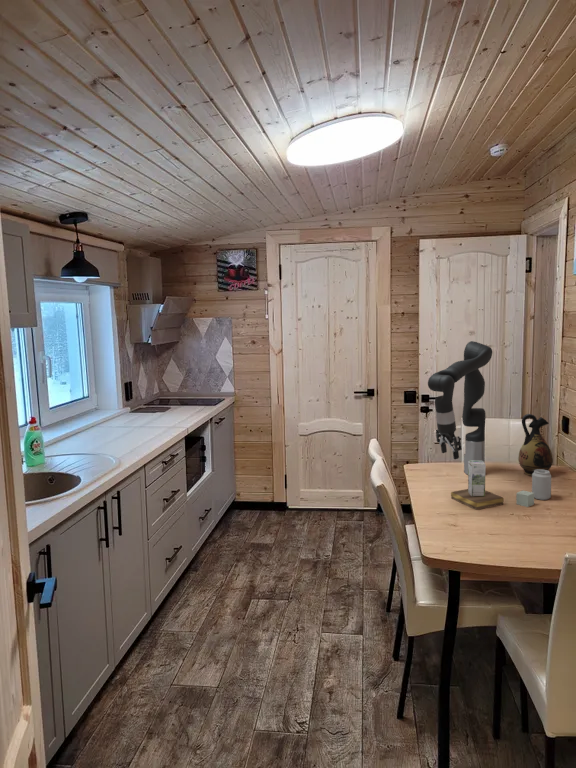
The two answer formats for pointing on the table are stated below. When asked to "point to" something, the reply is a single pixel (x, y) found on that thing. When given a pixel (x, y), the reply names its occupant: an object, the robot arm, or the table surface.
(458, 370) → the robot arm
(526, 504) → the pale green cube
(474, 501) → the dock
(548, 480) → the can
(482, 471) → the syrup box
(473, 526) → the table surface
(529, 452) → the ceramic jug
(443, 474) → the table surface
